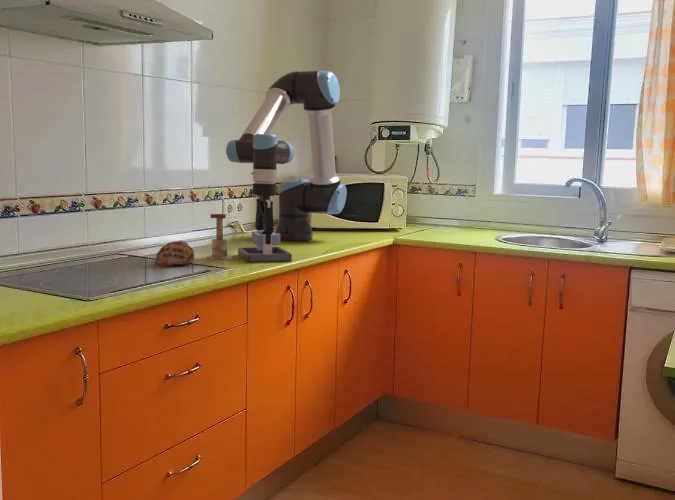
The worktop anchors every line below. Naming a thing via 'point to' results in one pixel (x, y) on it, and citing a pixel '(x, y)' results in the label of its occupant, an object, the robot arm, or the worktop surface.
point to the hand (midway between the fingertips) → (264, 252)
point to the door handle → (219, 240)
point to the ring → (258, 238)
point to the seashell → (174, 254)
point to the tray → (264, 255)
